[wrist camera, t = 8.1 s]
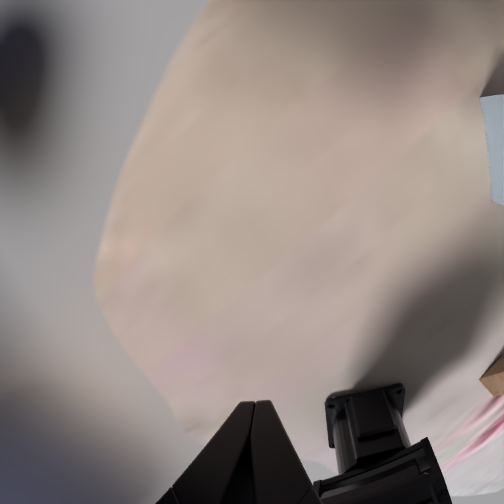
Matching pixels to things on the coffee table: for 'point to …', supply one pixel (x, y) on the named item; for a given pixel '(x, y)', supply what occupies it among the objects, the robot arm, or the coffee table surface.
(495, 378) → the wooden block set
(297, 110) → the coffee table surface
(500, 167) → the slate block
